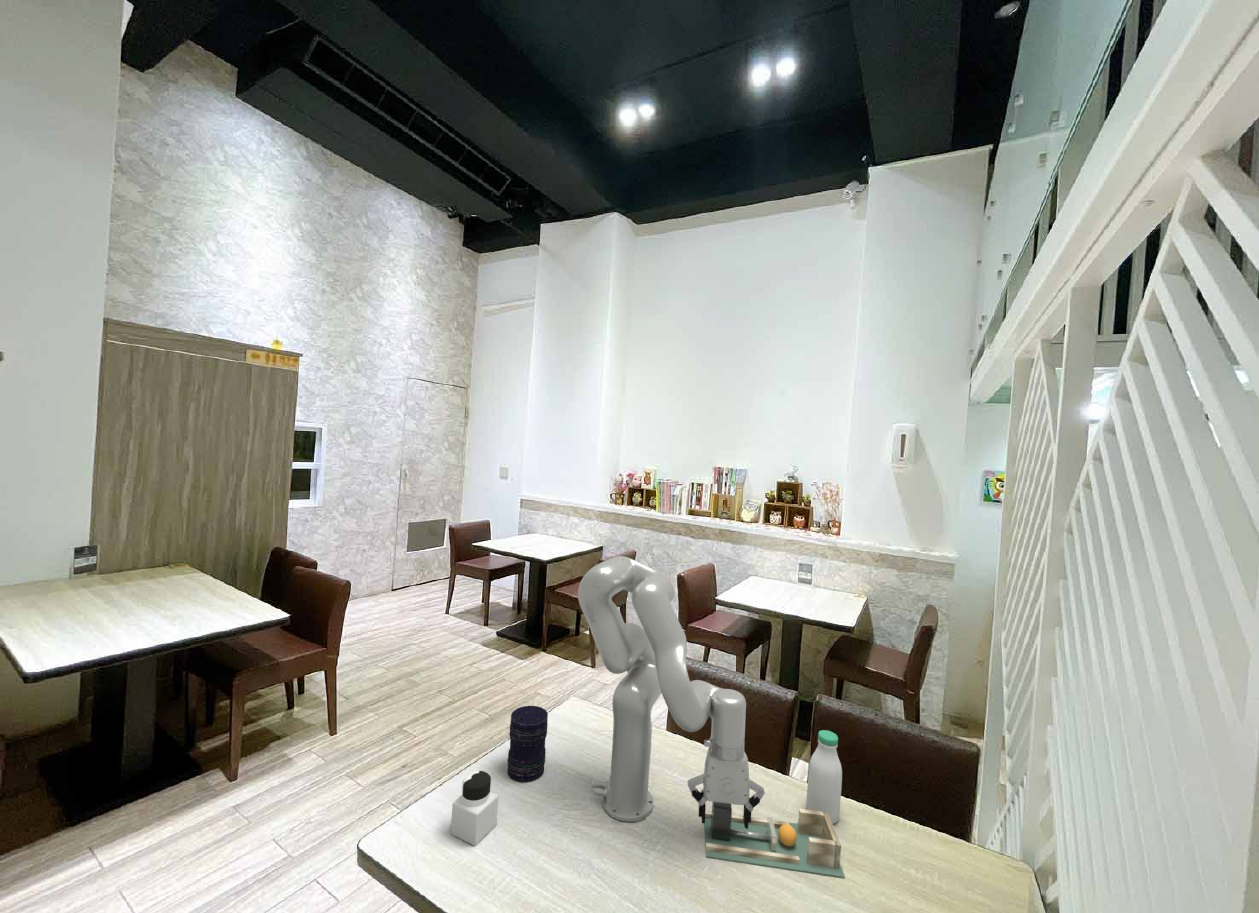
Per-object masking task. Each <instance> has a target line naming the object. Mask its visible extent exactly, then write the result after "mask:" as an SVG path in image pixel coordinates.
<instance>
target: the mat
mask: <svg viewBox="0 0 1259 913" xmlns="http://www.w3.org/2000/svg"><path fill="white" fill-rule="evenodd" d="M709 811H710V812H712V810H709ZM732 815H734V814H733V813H732ZM737 815H738V816H741V815H739V814H737ZM752 817H753V818H755V817H754V816H752ZM759 818H760V817H759ZM760 819H762V818H760ZM766 819H767V820H768V818H766ZM773 820H774V819H773ZM774 821H777V820H776V819H775V820H774ZM781 822H784V821H781ZM787 822H788V823H789V825H790V826H792V827H793V828H794V829H795V831H796V834H797V840H796V843H795V844H794V845H792V846H786V845H784V844H783V843H782V842H781V841H780V839H779V835H778V831H779V828H775V831H776V835H777V843H776V851H771V847H770V843H769V841H766V840H759V839H752V838H745V837H738V836H731V835H730V841H725V840H718V839H712V835H711V819H709V818H705V823H704V824H703V831H704V832H703V833H704V844H705V845H704V846H705V858H708V859H714V860H721V861H727V862H734V863H739V864H740V863H741V864H748V865H753V866H760V867H765V868H767V867H768V868H773V869H779V870H780V869H781V870H787V871H794V872H798V873H799V872H801V873H807V874H813V875H814V874H815V875H820V876H827V877H834V878H840V879H845V877H846V876H845V874H844V872H843V868H842V866H841V865H840V868H839V869H838V868H831V867H824V866H817V865H811V864H808V862H807V852H808V839H809V837H811V838H818V839H823V837H821V836H814V835H807V834H800V833H799V832H798V822H797V823H796V822H789V821H787ZM731 829H735V830H742V831H749V832H756V833H763V834H767V827H765V826H758V825H751V824H748V829H746V828H745V826H744V823H737V822H731ZM706 843H712V844H718V845H725V846H732V847H739V848H746V849H752V850H759V851H766V852H773V853H779V854H786V855H793V856H799V860H800V862H799V864H792V863H785V862H778V861H772V860H765V859H758V858H752V857H745V856H738V855H732V854H725V853H718V852H711V851H706Z"/></svg>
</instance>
